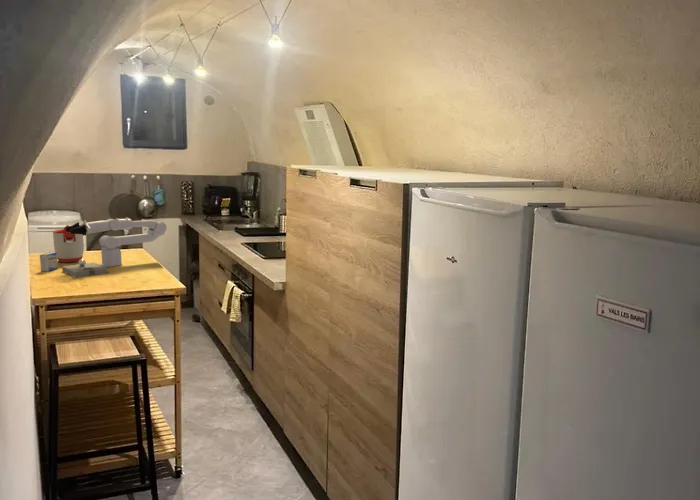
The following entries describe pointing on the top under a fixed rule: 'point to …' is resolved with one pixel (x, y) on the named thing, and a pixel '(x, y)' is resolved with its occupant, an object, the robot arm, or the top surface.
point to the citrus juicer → (68, 246)
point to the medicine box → (48, 261)
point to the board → (85, 270)
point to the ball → (82, 262)
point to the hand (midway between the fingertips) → (68, 230)
